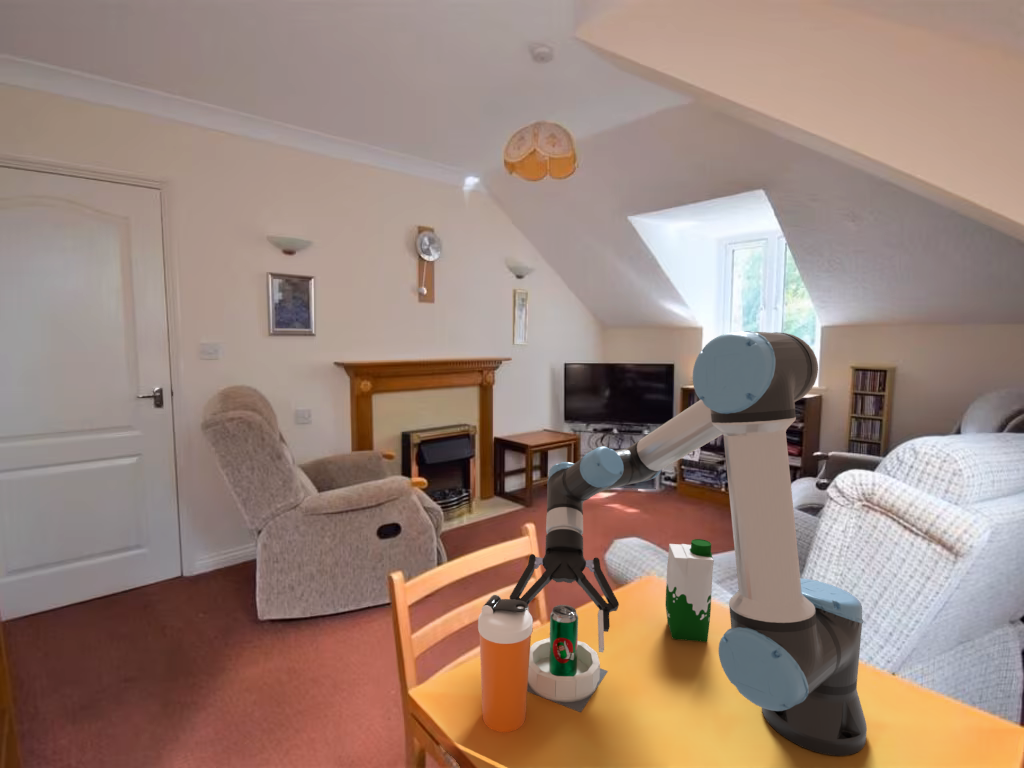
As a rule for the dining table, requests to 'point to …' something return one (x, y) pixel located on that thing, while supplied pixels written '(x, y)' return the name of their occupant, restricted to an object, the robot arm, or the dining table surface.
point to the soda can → (563, 641)
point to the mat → (577, 704)
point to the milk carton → (689, 590)
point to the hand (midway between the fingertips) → (562, 648)
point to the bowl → (563, 685)
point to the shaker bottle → (504, 662)
